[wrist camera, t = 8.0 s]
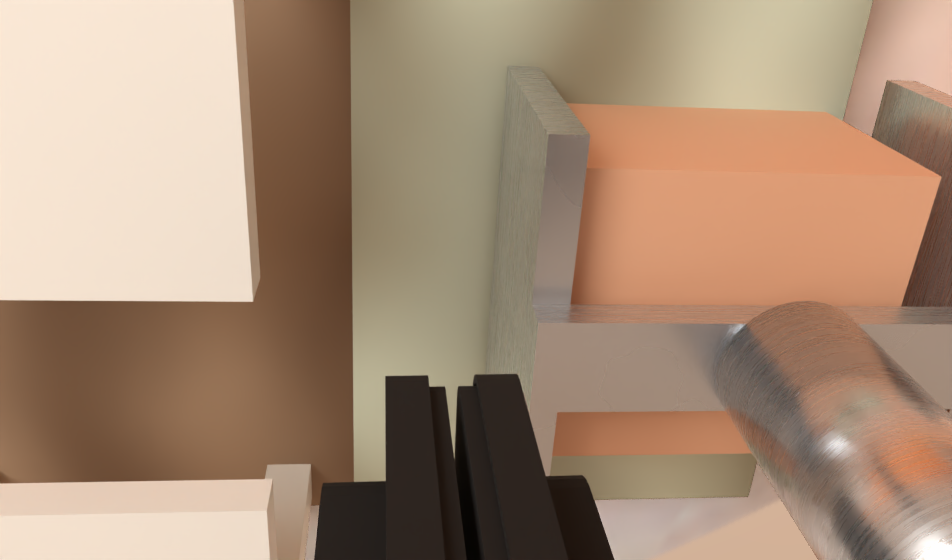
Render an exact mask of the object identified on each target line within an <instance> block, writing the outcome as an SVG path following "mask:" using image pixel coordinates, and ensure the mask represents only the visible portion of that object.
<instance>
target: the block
mask: <svg viewBox="0 0 952 560" xmlns="http://www.w3.org/2000/svg"><path fill="white" fill-rule="evenodd" d="M566 104H567V105H568V106H569V107H570V109H571V110H572V111H573V113H574V114H575V115H576V117H577V118H578V119H579V121H580V122H581V123H582V125H583V126H584V127H585V129H586V130H587V131H588V133H589V134H590V143H589V152H588V160H587V168H586V177H585V185H584V193H583V202H582V210H581V218H580V227H579V235H578V244H577V252H576V260H575V269H574V277H573V285H572V294H571V302H570V304H598V305H759V306H779V305H782V304H786V303H791V302H797V301H817V302H822V303H827V304H830V305H832V306H901V305H902V302H903V299H904V295H905V292H906V289H907V286H908V283H909V279H910V276H911V273H912V270H913V267H914V263H915V260H916V257H917V254H918V251H919V247H920V244H921V241H922V238H923V235H924V231H925V228H926V225H927V222H928V219H929V215H930V212H931V209H932V206H933V203H934V199H935V196H936V193H937V190H938V187H939V184H940V180H941V176H939V175H938V174H936V173H934V172H932V171H930V170H929V169H927V168H925V167H923V166H922V165H920V164H918V163H916V162H914V161H913V160H911V159H909V158H907V157H906V156H904V155H902V154H900V153H898V152H897V151H895V150H893V149H891V148H890V147H888V146H886V145H884V144H882V143H881V142H879V141H877V140H875V139H874V138H872V137H870V136H868V135H866V134H865V133H863V132H861V131H859V130H858V129H856V128H854V127H852V126H851V125H849V124H847V123H845V122H843V121H842V120H840V119H838V118H836V117H835V116H833V115H831V114H829V113H827V112H814V111H784V110H754V109H724V108H693V107H663V106H633V105H603V104H573V103H566ZM746 453H752V452H751V451H750V449H749V448H748V446H747V444H746V443H745V441H744V440H743V438H742V436H741V435H740V433H739V431H738V430H737V428H736V427H735V425H734V423H733V422H732V420H731V419H730V417H729V415H728V414H727V412H726V411H648V412H557V419H556V428H555V436H554V444H553V453H552V456H604V455H675V454H746Z"/></svg>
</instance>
